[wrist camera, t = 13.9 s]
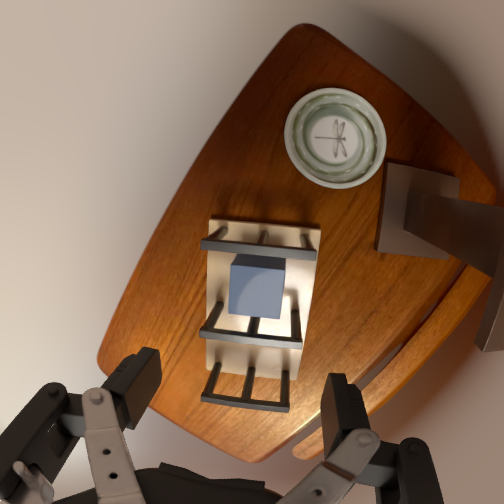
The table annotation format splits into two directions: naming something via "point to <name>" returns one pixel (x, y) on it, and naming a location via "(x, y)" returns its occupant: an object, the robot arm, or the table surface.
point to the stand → (445, 233)
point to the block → (256, 286)
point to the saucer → (335, 138)
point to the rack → (256, 328)
